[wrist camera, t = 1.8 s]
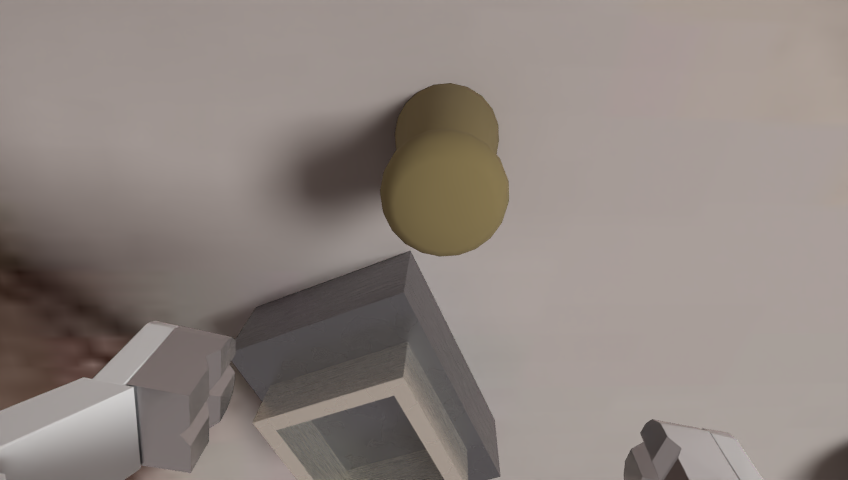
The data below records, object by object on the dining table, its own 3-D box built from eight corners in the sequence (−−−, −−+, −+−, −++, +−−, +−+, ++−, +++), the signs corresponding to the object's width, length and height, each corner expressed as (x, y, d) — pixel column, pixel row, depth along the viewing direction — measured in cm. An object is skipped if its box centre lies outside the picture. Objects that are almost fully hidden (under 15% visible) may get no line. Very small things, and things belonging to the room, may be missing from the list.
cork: (416, 65, 26) (395, 102, 16) (517, 108, 27) (554, 167, 17) (380, 164, 29) (343, 248, 19) (473, 200, 29) (483, 299, 20)
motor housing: (256, 307, 34) (203, 389, 27) (410, 251, 31) (398, 324, 24) (358, 456, 40) (338, 555, 33) (494, 420, 37) (504, 518, 30)
